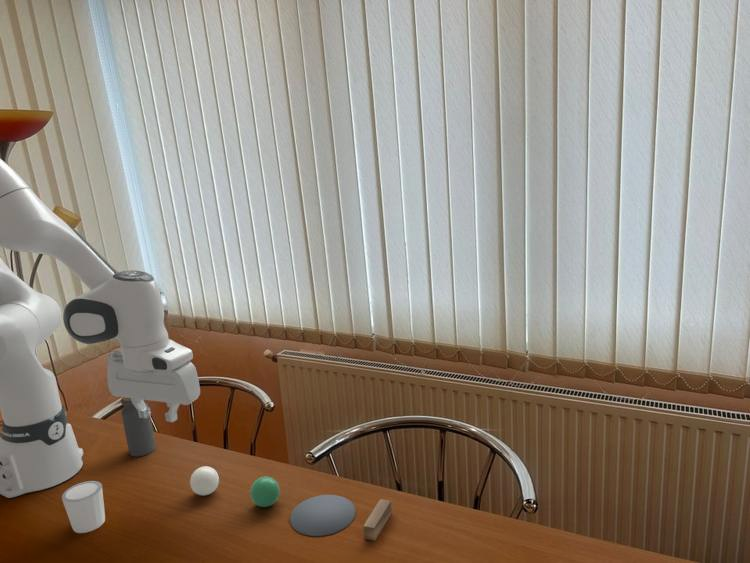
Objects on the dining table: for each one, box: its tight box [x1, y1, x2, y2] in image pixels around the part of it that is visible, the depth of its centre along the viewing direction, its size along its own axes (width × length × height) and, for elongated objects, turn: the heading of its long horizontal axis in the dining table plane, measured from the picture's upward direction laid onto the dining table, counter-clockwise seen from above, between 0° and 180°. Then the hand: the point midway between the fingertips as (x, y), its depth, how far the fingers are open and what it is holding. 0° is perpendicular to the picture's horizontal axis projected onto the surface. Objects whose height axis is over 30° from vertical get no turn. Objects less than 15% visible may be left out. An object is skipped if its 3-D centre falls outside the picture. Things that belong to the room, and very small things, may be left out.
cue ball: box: [189, 465, 220, 496], centre depth 121 cm, size 6×6×6 cm
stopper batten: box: [362, 498, 393, 542], centre depth 107 cm, size 2×8×2 cm, turn 158°
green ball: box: [249, 475, 281, 508], centre depth 115 cm, size 6×6×6 cm
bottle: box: [120, 397, 157, 457], centre depth 139 cm, size 6×6×15 cm
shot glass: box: [61, 480, 106, 534], centre depth 114 cm, size 7×7×7 cm
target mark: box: [289, 494, 356, 537], centre depth 111 cm, size 12×12×1 cm
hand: (158, 418), depth 121 cm, fingers open, 5 cm apart
